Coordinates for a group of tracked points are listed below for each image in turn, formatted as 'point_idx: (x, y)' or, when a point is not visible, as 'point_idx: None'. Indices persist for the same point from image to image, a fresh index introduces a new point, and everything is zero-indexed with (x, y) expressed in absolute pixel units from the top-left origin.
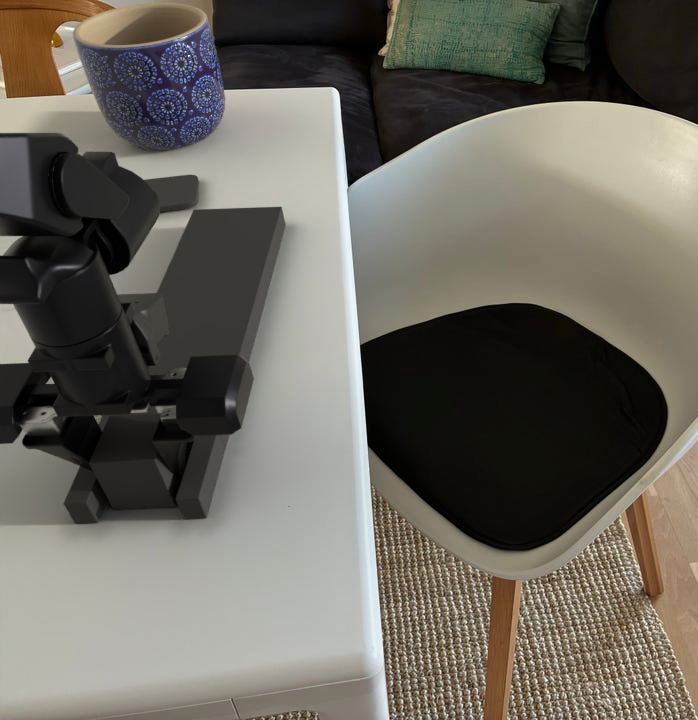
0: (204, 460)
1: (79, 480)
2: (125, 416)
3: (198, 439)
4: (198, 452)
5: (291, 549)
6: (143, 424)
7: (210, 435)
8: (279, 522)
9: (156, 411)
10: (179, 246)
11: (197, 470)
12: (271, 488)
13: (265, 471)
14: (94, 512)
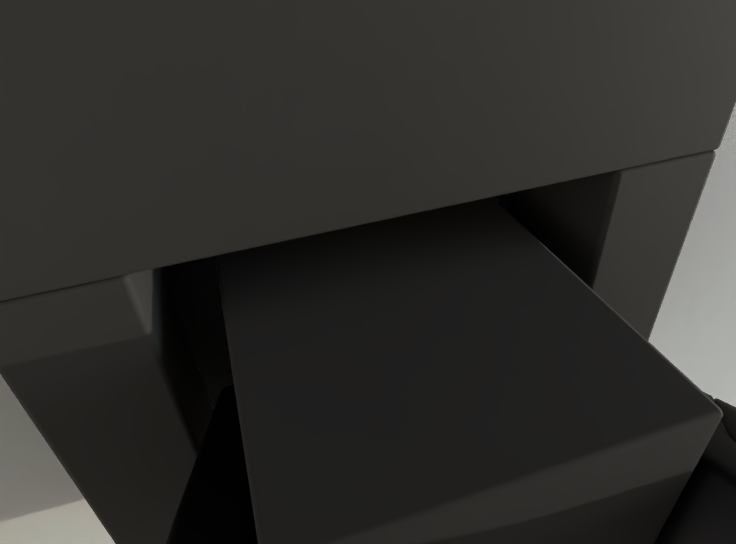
0: (640, 325)
1: (142, 531)
2: (410, 532)
3: (622, 229)
4: (621, 298)
5: (719, 375)
6: (555, 530)
7: (677, 196)
8: (714, 328)
9: (336, 26)
10: None
11: None
12: (722, 241)
13: (722, 183)
14: None
